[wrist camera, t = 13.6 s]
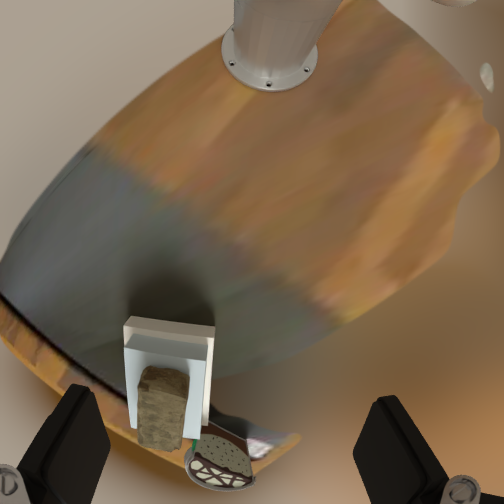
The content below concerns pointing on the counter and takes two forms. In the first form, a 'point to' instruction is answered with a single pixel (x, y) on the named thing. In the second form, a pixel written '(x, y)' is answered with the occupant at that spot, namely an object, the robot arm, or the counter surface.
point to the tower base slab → (178, 333)
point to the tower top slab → (167, 356)
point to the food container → (219, 460)
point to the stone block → (162, 408)
